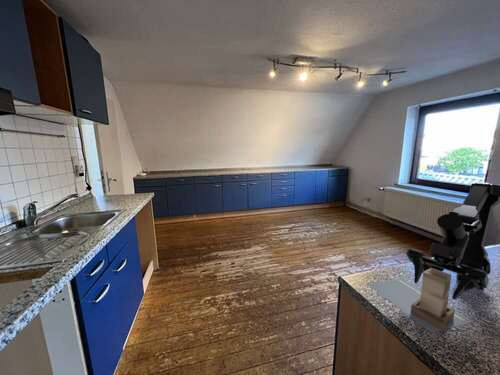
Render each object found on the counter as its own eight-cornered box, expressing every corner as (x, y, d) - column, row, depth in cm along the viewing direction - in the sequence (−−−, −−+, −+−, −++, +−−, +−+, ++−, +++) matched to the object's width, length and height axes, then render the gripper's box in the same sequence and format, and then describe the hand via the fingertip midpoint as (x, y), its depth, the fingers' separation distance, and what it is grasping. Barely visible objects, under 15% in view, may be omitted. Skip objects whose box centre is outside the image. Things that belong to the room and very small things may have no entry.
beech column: (426, 302, 71) (431, 267, 69) (446, 311, 67) (451, 274, 65) (419, 308, 69) (423, 271, 67) (439, 318, 65) (444, 279, 63)
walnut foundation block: (422, 303, 74) (423, 295, 73) (453, 318, 67) (454, 310, 67) (410, 312, 70) (411, 304, 69) (442, 329, 63) (444, 321, 62)
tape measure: (444, 273, 94) (445, 265, 93) (433, 276, 92) (434, 267, 91) (427, 265, 100) (428, 257, 100) (416, 268, 98) (417, 260, 98)
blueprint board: (401, 280, 89) (401, 277, 89) (473, 324, 66) (474, 321, 66) (367, 286, 85) (367, 283, 85) (431, 335, 62) (431, 332, 62)
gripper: (411, 224, 74) (391, 264, 70) (492, 243, 59) (472, 296, 55) (419, 242, 80) (401, 280, 76) (495, 263, 64) (478, 313, 60)
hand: (433, 290), depth 66 cm, fingers open, 9 cm apart
